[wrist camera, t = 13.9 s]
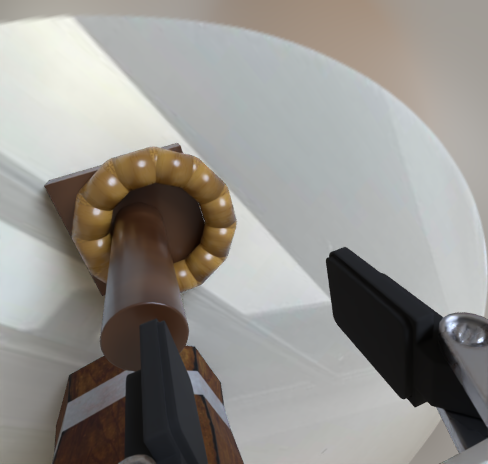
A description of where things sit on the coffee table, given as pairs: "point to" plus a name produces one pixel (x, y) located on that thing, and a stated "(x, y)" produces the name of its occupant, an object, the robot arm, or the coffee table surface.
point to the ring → (143, 174)
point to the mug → (113, 414)
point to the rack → (139, 260)
